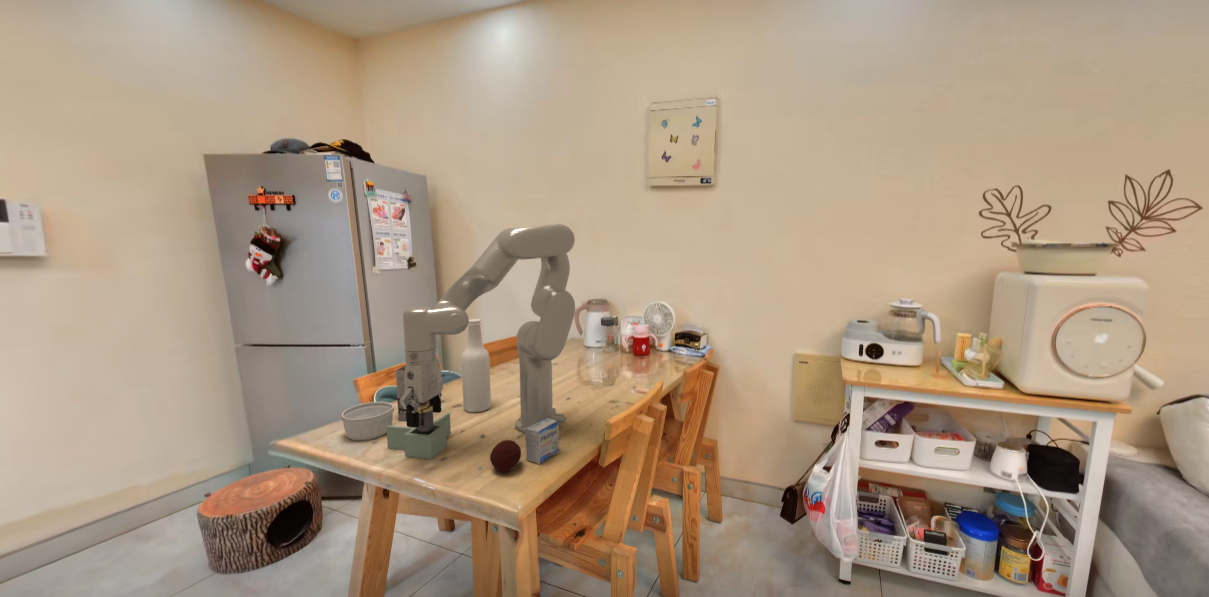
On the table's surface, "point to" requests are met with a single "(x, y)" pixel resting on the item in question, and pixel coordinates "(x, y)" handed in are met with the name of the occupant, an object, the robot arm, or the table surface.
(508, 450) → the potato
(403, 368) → the coffee box
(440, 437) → the grey-green frame piece
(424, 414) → the cylindrical canister
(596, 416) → the table surface
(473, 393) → the alcohol
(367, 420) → the ramekin
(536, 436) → the medicine box
